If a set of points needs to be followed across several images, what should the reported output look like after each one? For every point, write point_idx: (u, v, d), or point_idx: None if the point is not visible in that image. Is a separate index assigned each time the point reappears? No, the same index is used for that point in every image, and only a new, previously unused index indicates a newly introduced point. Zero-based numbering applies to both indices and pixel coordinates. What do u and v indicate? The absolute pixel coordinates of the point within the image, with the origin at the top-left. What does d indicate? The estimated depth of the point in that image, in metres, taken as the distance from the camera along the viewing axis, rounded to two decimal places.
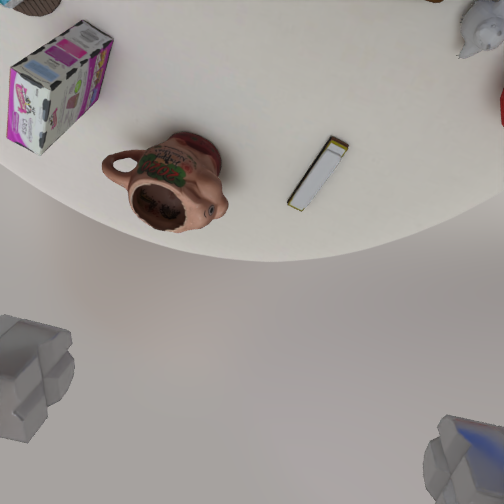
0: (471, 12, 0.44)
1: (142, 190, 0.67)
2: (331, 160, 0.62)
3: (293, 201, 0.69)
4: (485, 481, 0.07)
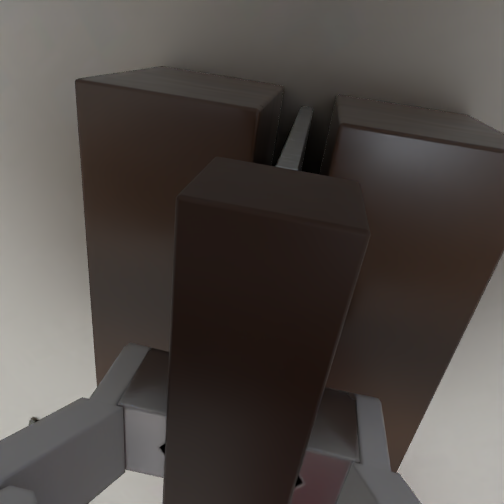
0: None
1: None
2: None
3: None
4: (316, 441, 0.07)
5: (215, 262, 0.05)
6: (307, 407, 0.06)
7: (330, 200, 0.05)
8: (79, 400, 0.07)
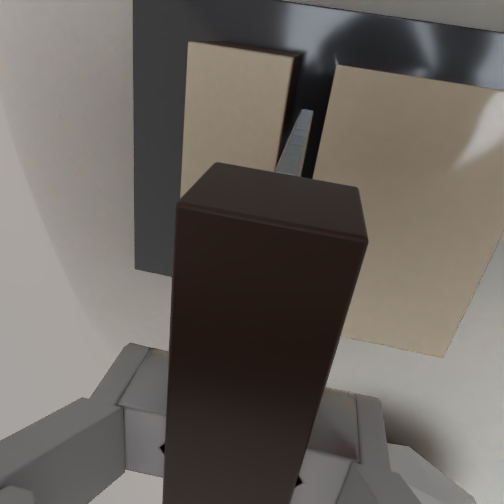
0: None
1: None
2: None
3: None
4: (316, 441, 0.07)
5: (215, 268, 0.05)
6: (306, 412, 0.06)
7: (329, 206, 0.06)
8: (79, 400, 0.07)
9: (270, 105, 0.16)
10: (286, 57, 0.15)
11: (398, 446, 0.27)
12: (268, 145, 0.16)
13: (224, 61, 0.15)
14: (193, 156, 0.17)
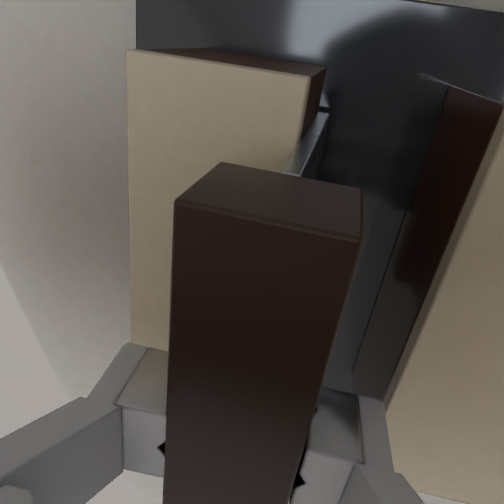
0: None
1: None
2: None
3: None
4: (319, 442, 0.07)
5: (211, 265, 0.05)
6: (302, 412, 0.06)
7: (327, 207, 0.06)
8: (77, 399, 0.07)
9: (268, 159, 0.09)
10: (296, 77, 0.08)
11: None
12: None
13: (188, 84, 0.09)
14: (146, 233, 0.11)
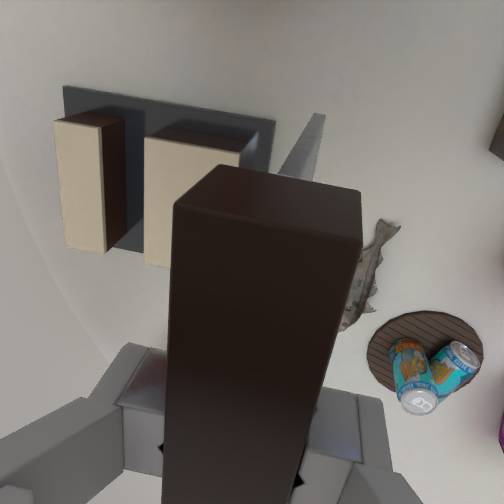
0: None
1: None
2: None
3: None
4: (318, 441, 0.07)
5: (210, 267, 0.05)
6: (301, 415, 0.06)
7: (327, 209, 0.06)
8: (77, 400, 0.07)
9: (92, 148, 0.34)
10: (95, 128, 0.34)
11: None
12: (95, 166, 0.35)
13: (69, 129, 0.34)
14: (62, 171, 0.36)
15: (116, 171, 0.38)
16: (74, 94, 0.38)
